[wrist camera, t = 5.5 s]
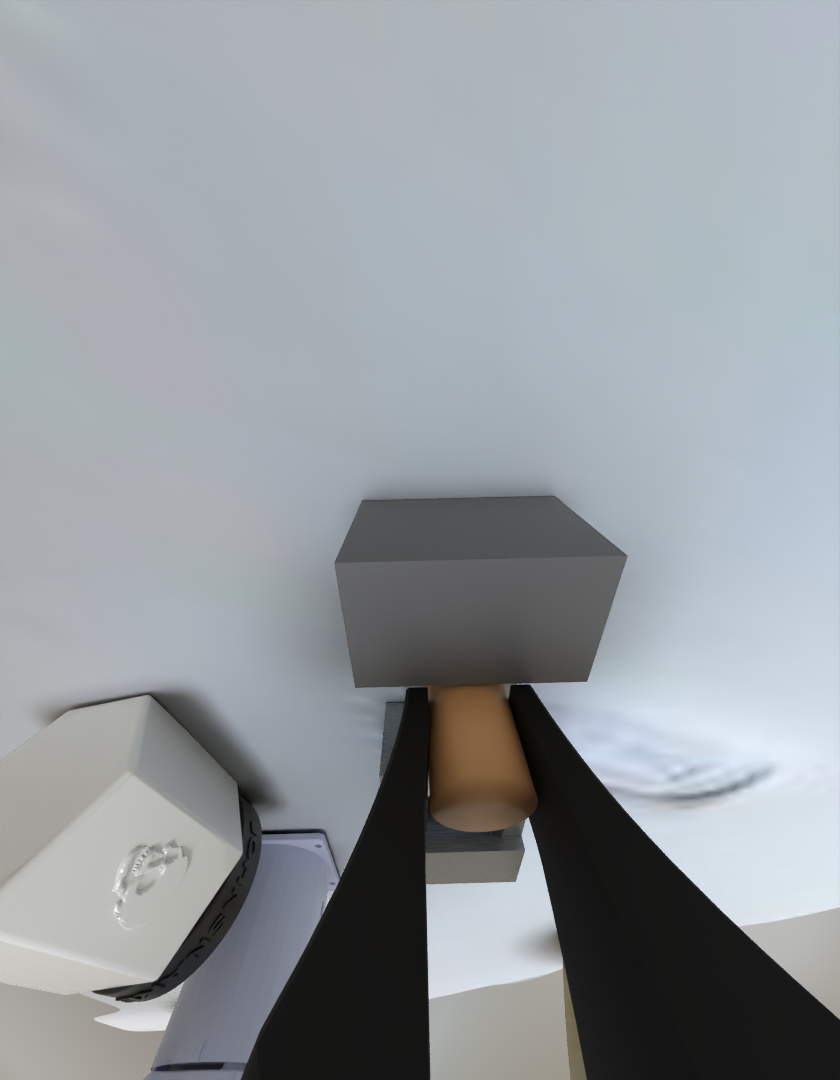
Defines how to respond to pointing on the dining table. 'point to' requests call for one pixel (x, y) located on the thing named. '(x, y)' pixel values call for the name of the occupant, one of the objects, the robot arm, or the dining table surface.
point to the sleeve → (460, 836)
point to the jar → (118, 854)
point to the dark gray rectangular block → (474, 591)
